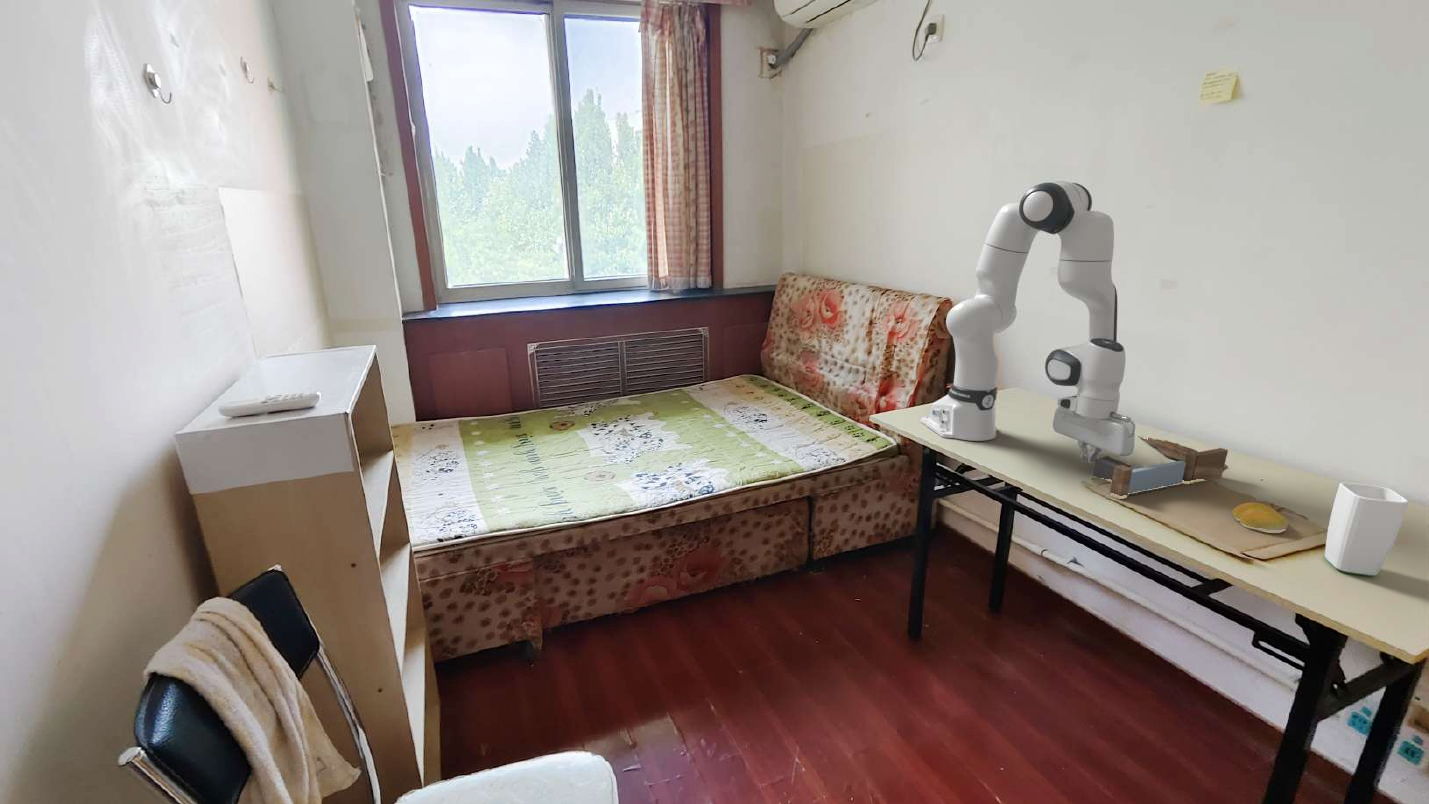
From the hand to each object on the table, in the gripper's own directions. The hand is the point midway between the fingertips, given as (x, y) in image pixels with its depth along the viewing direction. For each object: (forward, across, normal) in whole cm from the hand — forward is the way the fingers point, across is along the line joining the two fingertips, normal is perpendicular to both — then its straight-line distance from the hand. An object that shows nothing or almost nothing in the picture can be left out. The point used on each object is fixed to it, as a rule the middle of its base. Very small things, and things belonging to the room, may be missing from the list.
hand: (1087, 460), depth 158 cm
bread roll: (+3, -34, -8) cm, 35 cm away
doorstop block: (+2, -7, 0) cm, 7 cm away
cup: (+2, -51, -5) cm, 51 cm away
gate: (+2, -15, -3) cm, 15 cm away
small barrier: (+2, -15, -8) cm, 17 cm away
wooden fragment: (+3, 0, -31) cm, 31 cm away
